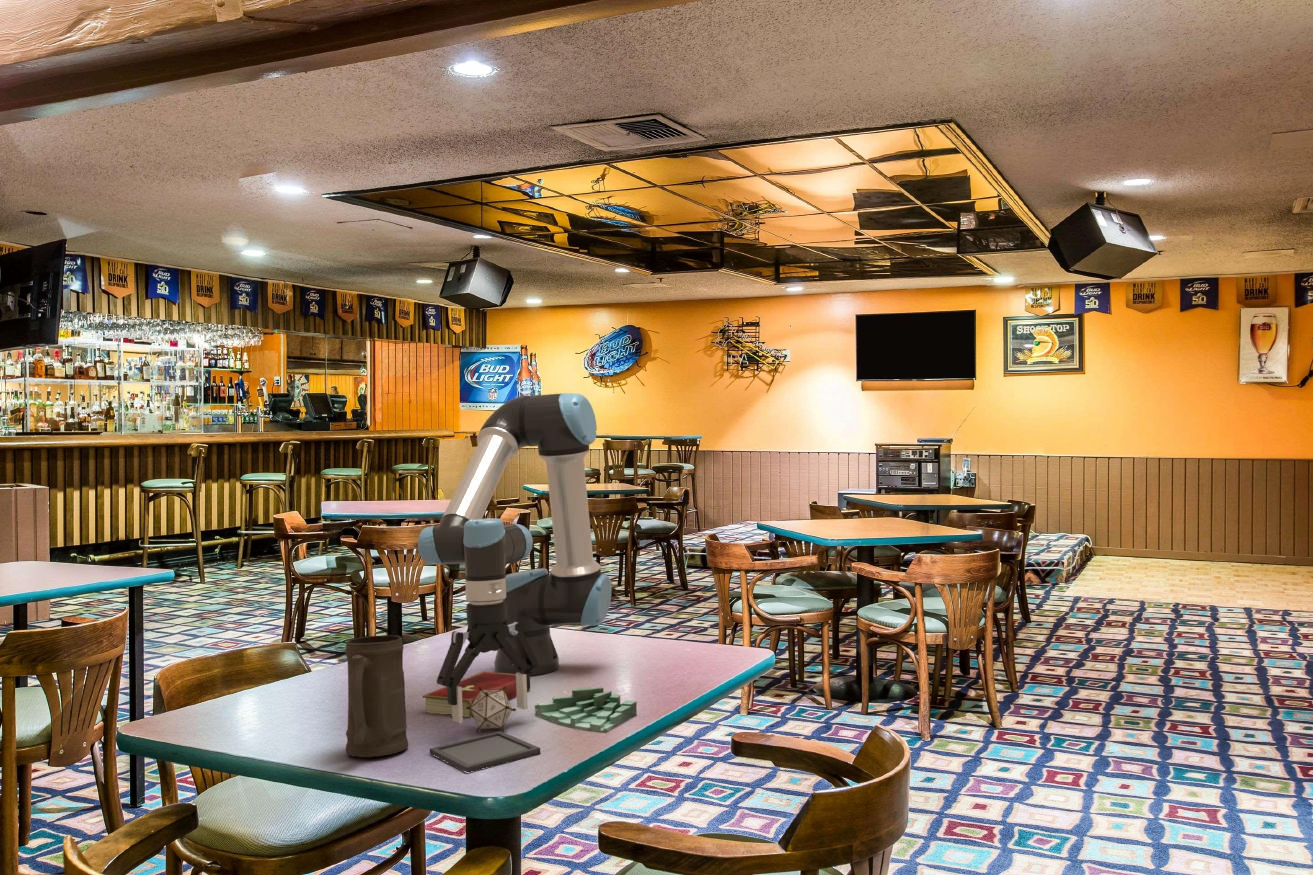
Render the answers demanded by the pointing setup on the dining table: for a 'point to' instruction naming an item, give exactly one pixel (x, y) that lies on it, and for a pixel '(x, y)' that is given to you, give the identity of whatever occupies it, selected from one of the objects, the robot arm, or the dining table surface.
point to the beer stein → (376, 696)
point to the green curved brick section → (588, 710)
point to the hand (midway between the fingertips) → (490, 714)
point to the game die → (491, 709)
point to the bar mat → (485, 751)
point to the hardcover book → (471, 691)
